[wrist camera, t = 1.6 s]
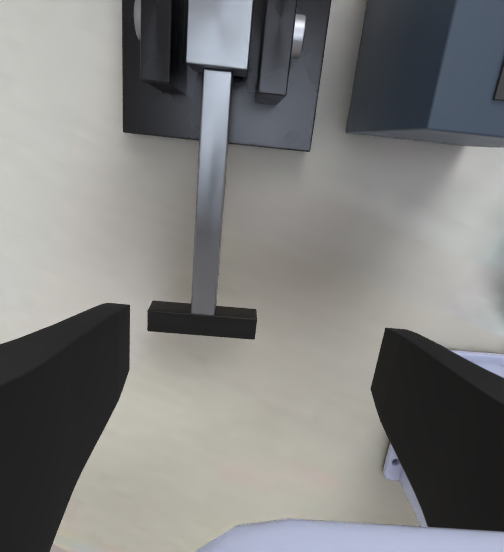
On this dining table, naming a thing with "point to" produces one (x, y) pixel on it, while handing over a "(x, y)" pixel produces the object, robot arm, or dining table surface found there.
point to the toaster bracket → (246, 90)
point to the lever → (211, 167)
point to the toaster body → (431, 72)
